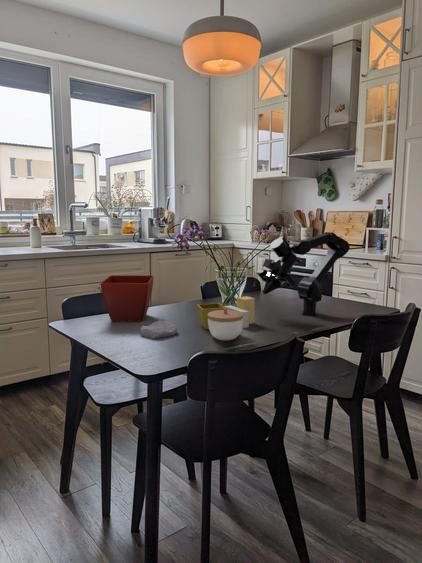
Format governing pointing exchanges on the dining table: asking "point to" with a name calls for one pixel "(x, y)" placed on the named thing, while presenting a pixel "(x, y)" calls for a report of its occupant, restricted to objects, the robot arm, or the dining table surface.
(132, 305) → the plant pot
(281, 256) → the robot arm
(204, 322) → the flower pot
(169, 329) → the stone block
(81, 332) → the dining table surface
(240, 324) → the lidded bowl
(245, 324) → the wall
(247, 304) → the block
